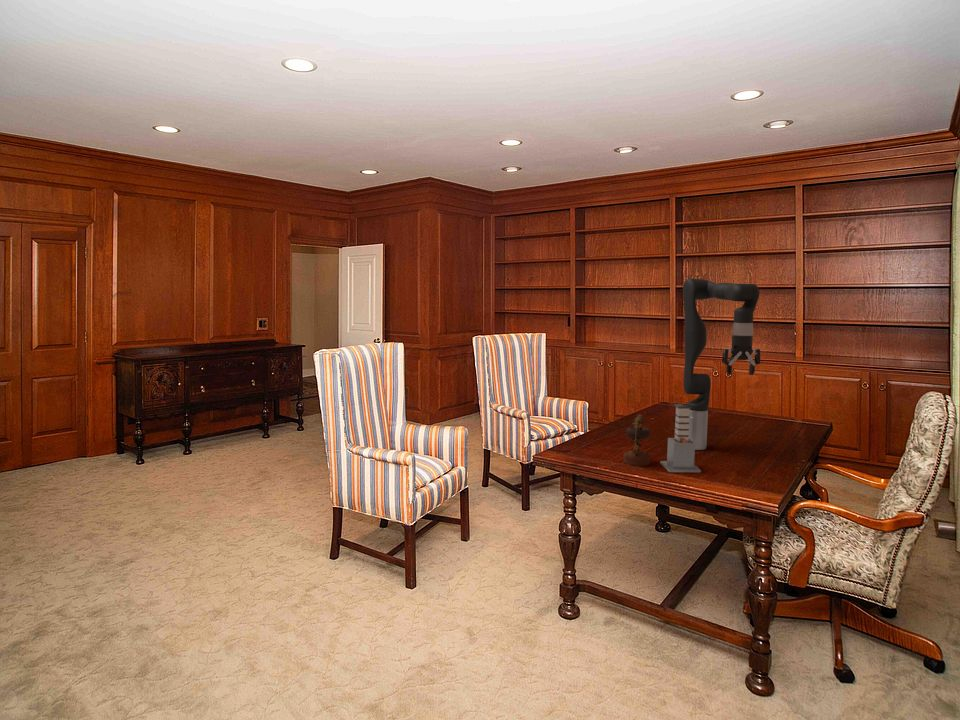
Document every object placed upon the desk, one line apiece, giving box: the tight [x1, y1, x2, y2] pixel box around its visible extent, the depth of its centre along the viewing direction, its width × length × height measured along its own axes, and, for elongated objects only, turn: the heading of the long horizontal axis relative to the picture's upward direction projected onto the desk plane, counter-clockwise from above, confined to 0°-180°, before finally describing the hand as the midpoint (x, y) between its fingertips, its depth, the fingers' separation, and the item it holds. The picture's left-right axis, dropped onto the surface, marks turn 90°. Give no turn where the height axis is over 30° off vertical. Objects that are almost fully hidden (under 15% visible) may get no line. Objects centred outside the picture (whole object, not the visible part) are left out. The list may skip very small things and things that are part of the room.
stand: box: [660, 437, 702, 474], centre depth 233 cm, size 12×12×12 cm
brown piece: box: [623, 414, 651, 467], centre depth 241 cm, size 15×11×20 cm
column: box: [673, 403, 692, 442], centre depth 232 cm, size 5×5×19 cm
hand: (740, 374), depth 237 cm, fingers open, 8 cm apart
